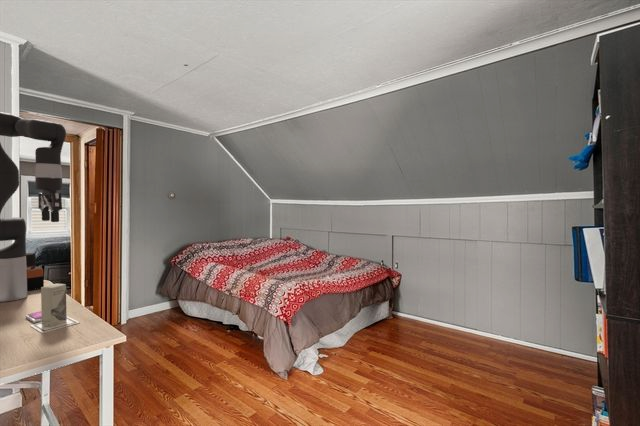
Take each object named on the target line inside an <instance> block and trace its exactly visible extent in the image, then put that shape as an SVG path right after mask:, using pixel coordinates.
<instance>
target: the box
mask: <svg viewBox="0 0 640 426" xmlns="http://www.w3.org/2000/svg"><path fill="white" fill-rule="evenodd" d="M40 290H41V291H40V294H41V295H40V299H41V304H40V305H41V312H42V322H41V323H42V326H49V327H53V326H56V325H59V324H61V323H64V322H66V321H67V316H68V315H67V284H66V283H54V284H53V283H52V284H48V285H44V287H41V289H40Z"/></svg>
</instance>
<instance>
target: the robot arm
mask: <svg viewBox="0 0 640 426" xmlns="http://www.w3.org/2000/svg"><path fill="white" fill-rule="evenodd" d="M0 136H3V137H10V138H17V137H18V138H19V137H24V138H28V139H32V140H37V141H44V142H50V144H49V145H48V146H41V147H40V146H39V147H37V148H36V149H35V151H34V152H35V153H34V154H35V169H34V175H35V179H34V181H35V189H36V190H38V191H40V190H41V191H42V192H38V193H37V196H38V198H37V199H38V209H39V210H40V211H41V221H42V222H46V221H51V222H50V223H59V222H60V211H62V210H63V204H62V203H63V202H62V193H60V192H57V191H61V190H63V170H62V159H61V154H62V149H63V145H64V143H65V140H66V136H67V131H66V128H65V126H64V125H62V124H61V123H58V122H54V121H48V120H43V119H42V120H41V119H35V118H23V117H20V116H18V115H15V114H13V113H9V112H2V111H0ZM19 186H20V172H19V168H18V166H17V165H16V163H15V162H14V160H13V159H12V158H11V157H10V155H8V153H6V151H5V149H4V148H3V146H2V143H1V142H0V215H1V214H2V210H3V209H4V206H5V205H6V204H7V202H8V201H9V200H10V199H11V198H12V196H13V195H14V194H15V193H16V192H17V190H18V188H19ZM26 237H27V224H26V220H25V219H24V218H23V217H0V242H6V241H14V242H13V243H12V244H10V245H8V246H6V247H3V248H0V302H2V303H3V302H12V301H19V300H22V299H25V298H27V297H28V291H27V268H26V253H27V246H26V244H27V242H26Z"/></svg>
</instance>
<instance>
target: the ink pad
mask: <svg viewBox="0 0 640 426" xmlns="http://www.w3.org/2000/svg"><path fill="white" fill-rule="evenodd" d="M25 319H26V320H27V319H28V321H30V322H31V323H32V324H38V323H42V312H41V311H36V312H32V313H28V314H27V315H25Z"/></svg>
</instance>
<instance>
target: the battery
mask: <svg viewBox="0 0 640 426" xmlns="http://www.w3.org/2000/svg"><path fill="white" fill-rule="evenodd" d="M44 286H45V278H44V269H43V267H41V266H36V267H35V268H32V269H31V267H28V268H27V292H29V291H35V290H41V287H44Z"/></svg>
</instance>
